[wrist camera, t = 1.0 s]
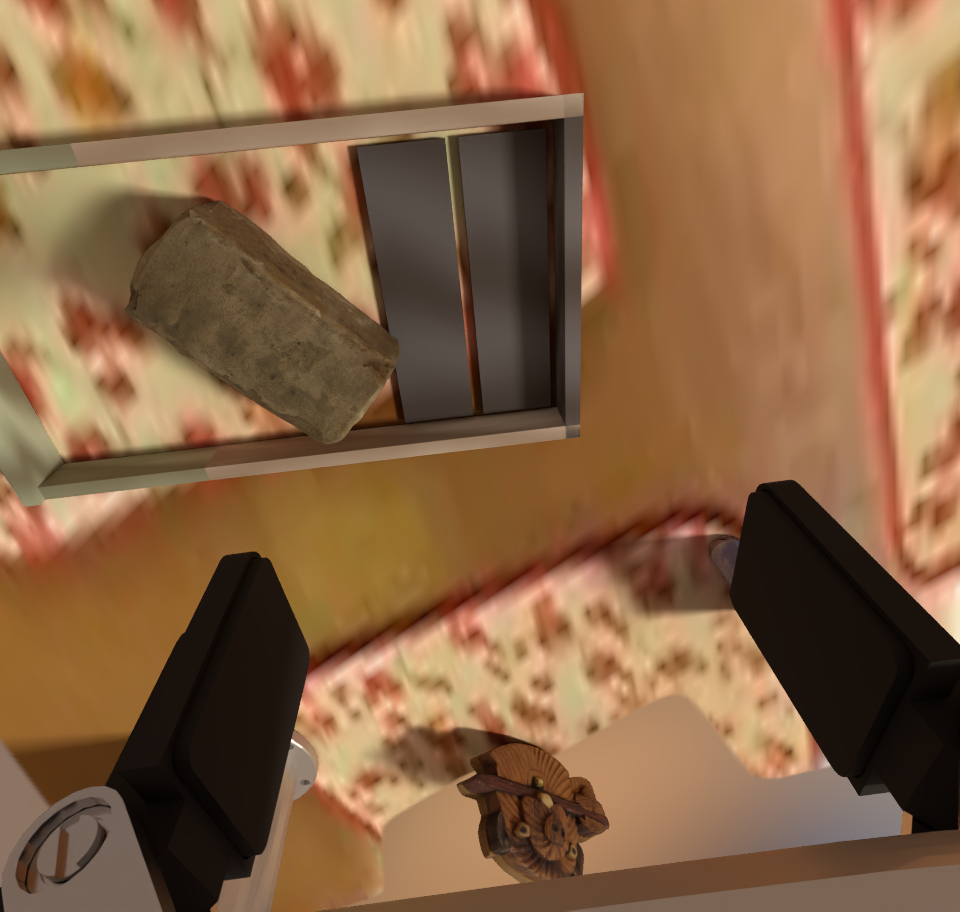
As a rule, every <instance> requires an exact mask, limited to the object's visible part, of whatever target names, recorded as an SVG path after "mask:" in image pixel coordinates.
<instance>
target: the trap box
mask: <svg viewBox="0 0 960 912" xmlns="http://www.w3.org/2000/svg"><path fill="white" fill-rule="evenodd" d="M545 120H552V130H553V202H554V273H555V345H556V407H552V408H543V409H535V410H526V411H517V412H509V413H500V414H491V415H483V416H474V417H465V418H457V419H448V420H439V421H430V422H422V423H413V424H404V425H396V426H387V427H378V428H370V429H361V430H352V431H349V433H348V434H347V435H346V436H345V437H344V438H343V439H342V440H340V441H339V442H337V443H334V444H322V443H319V442H317V441H316V440H314V439H312V438H311V437H310V436H300V437H292V438H283V439H274V440H266V441H257V442H248V443H240V444H231V445H222V446H214V447H205V448H196V449H188V450H179V451H170V452H161V453H153V454H144V455H135V456H127V457H118V458H109V459H101V460H92V461H83V462H75V463H66V464H64V462H63V460H62V458H61V457H60V455H59V453H58V451H57V450H56V448H55V446H54V444H53V443H52V441H51V439H50V437H49V436H48V434H47V432H46V430H45V429H44V427H43V425H42V423H41V422H40V420H39V418H38V416H37V415H36V413H35V411H34V409H33V408H32V406H31V404H30V402H29V401H28V399H27V397H26V395H25V394H24V392H23V390H22V388H21V387H20V385H19V383H18V381H17V380H16V378H15V376H14V374H13V373H12V371H11V369H10V367H9V366H8V364H7V362H6V360H5V359H4V357H3V355H2V353H1V352H0V470H1V471H2V473H3V474H4V476H5V477H6V479H7V481H8V482H9V484H10V485H11V487H12V488H13V490H14V491H15V493H16V494H17V496H18V498H19V499H20V501H21V502H22V504H23V505H24V507H25V506H34V505H40V504H41V503H42V502H43V501H44V500H45V499H54V498H62V497H71V496H79V495H88V494H96V493H105V492H114V491H122V490H131V489H139V488H148V487H156V486H165V485H173V484H182V483H190V482H199V481H208V480H216V479H225V478H233V477H242V476H250V475H259V474H267V473H276V472H285V471H293V470H302V469H310V468H319V467H327V466H336V465H344V464H353V463H361V462H370V461H379V460H387V459H396V458H404V457H413V456H421V455H430V454H438V453H447V452H455V451H464V450H473V449H481V448H490V447H498V446H507V445H515V444H524V443H532V442H541V441H549V440H558V439H567V438H575V437H580V359H581V269H582V179H583V93H577V94H567V95H557V96H547V97H536V98H526V99H516V100H506V101H496V102H486V103H476V104H465V105H455V106H445V107H435V108H425V109H415V110H405V111H394V112H384V113H374V114H364V115H354V116H344V117H334V118H323V119H313V120H303V121H293V122H283V123H273V124H263V125H252V126H242V127H232V128H222V129H212V130H202V131H192V132H181V133H171V134H161V135H151V136H141V137H131V138H121V139H110V140H100V141H90V142H80V143H70V144H60V145H50V146H39V147H29V148H19V149H9V150H0V175H5V174H15V173H25V172H35V171H45V170H55V169H65V168H75V167H85V166H95V165H105V164H115V163H125V162H135V161H145V160H155V159H165V158H175V157H185V156H195V155H205V154H215V153H225V152H235V151H245V150H255V149H265V148H275V147H285V146H295V145H305V144H315V143H325V142H335V141H345V140H355V139H365V138H375V137H385V136H395V135H405V134H415V133H425V132H435V131H445V130H455V129H465V128H475V127H485V126H495V125H505V124H515V123H525V122H535V121H545ZM458 146H459V157H460V168H461V179H462V189H463V200H464V211H465V222H466V233H467V244H468V254H469V265H470V276H471V287H472V298H473V308H474V319H475V330H476V341H477V352H478V363H479V373H480V384H481V395H482V406H483V414H486V413H495V412H504V411H513V410H521V409H530V408H539V407H547V406H551V381H550V330H549V279H548V229H547V178H546V128H542V129H532V130H522V131H512V132H502V133H492V134H482V135H472V136H462V137H458ZM357 153H358V158H359V164H360V170H361V175H362V181H363V187H364V192H365V198H366V203H367V209H368V215H369V220H370V226H371V232H372V237H373V243H374V249H375V254H376V260H377V265H378V271H379V277H380V282H381V288H382V294H383V299H384V305H385V311H386V316H387V322H388V327H389V333H390V334H391V335H392V336H393V337H395V338H396V339H397V340H398V343H399V347H400V351H401V354H400V356H399V359H398V361H397V364H396V366H395V367H396V373H397V378H398V384H399V390H400V395H401V401H402V406H403V412H404V418H405V423H408V422H417V421H426V420H434V419H443V418H452V417H460V416H469V415H473V406H472V397H471V387H470V377H469V367H468V358H467V348H466V338H465V329H464V319H463V309H462V299H461V290H460V280H459V270H458V261H457V251H456V241H455V231H454V222H453V212H452V202H451V193H450V183H449V173H448V164H447V154H446V144H445V138H442V139H432V140H422V141H412V142H402V143H392V144H382V145H372V146H362V147H357Z"/></svg>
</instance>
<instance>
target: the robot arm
mask: <svg viewBox="0 0 960 912" xmlns="http://www.w3.org/2000/svg"><path fill="white" fill-rule="evenodd" d="M730 597H731V601H732V604H733V606H734V608H735V610H736V612H737V613H738V615H739V617H740V618H741V620H742V622H743V623H744V625H745V626H746V628H747V630H748V631H749V633H750V635H751V636H752V638H753V640H754V641H755V643H756V644H757V646H758V648H759V649H760V651H761V653H762V654H763V656H764V657H765V659H766V661H767V662H768V664H769V666H770V667H771V669H772V670H773V672H774V674H775V675H776V677H777V679H778V680H779V682H780V684H781V685H782V687H783V688H784V690H785V692H786V693H787V695H788V697H789V698H790V700H791V701H792V703H793V705H794V706H795V708H796V710H797V711H798V713H799V714H800V716H801V718H802V719H803V721H804V723H805V724H806V726H807V728H808V729H809V731H810V732H811V734H812V736H813V737H814V739H815V741H816V742H817V744H818V745H819V747H820V749H821V750H822V752H823V754H824V755H825V757H826V758H827V760H828V762H829V763H830V765H831V766H832V768H833V769H834V771H835V772H836V773H837V774H838V775H840V776H842V777H847V778H848V779H849V781H850V782H851V784H852V785H853V787H854V789H855V790H856V792H857V794H858V795H859V796H863V795H871V794H878V793H886V792H890V793H891V794H892V795H893V797H894V798H895V800H896V801H897V803H898V804H899V806H900V807H901V808H902V810H903V814H902V826H901V835H898V836H889V837H879V838H870V839H861V840H852V841H842V842H834V843H827V844H818V845H811V846H802V847H795V848H787V849H779V850H771V851H764V852H756V853H748V854H740V855H732V856H724V857H717V858H710V859H701V860H693V861H685V862H677V863H671V864H662V865H655V866H647V867H640V868H632V869H624V870H617V871H609V872H603V873H595V874H587V875H579V876H572V877H564V878H557V879H549V880H542V881H534V882H527V883H520V884H513V885H504V886H497V887H490V888H483V889H475V890H468V891H461V892H453V893H447V894H439V895H432V896H424V897H418V898H410V899H403V900H395V901H388V902H381V903H374V904H366V905H359V906H353V907H345V908H338V909H330V910H323V911H317V912H960V644H959V643H958V642H957V641H956V640H955V639H954V638H953V637H952V636H951V635H950V634H949V633H948V632H947V631H946V630H945V629H944V628H943V627H942V626H941V625H940V624H939V623H938V622H937V621H936V620H935V619H934V618H933V617H932V616H931V615H930V614H929V613H928V612H927V611H926V610H925V609H924V608H923V607H922V606H921V605H920V604H919V603H918V602H917V601H916V600H915V599H914V598H913V597H912V596H911V595H910V594H909V593H908V592H907V591H906V590H905V589H904V588H903V587H902V586H901V585H900V584H899V583H898V582H897V581H896V580H895V579H894V578H893V577H892V576H891V575H890V574H889V573H888V572H887V571H886V570H885V569H884V568H883V567H882V566H881V565H880V564H879V563H878V562H877V561H876V560H875V559H874V558H873V557H872V556H871V555H870V554H869V553H868V552H867V551H866V550H865V549H864V548H863V547H862V546H861V545H860V544H859V543H858V542H857V541H856V540H855V539H854V538H853V537H852V536H851V535H850V534H849V533H848V532H847V531H846V530H845V529H844V528H843V527H842V526H841V525H840V524H839V523H838V522H837V521H836V520H835V519H834V518H833V517H832V516H831V515H830V514H829V513H828V512H827V511H826V510H824V509H823V508H822V507H821V506H820V505H819V504H818V503H817V502H816V501H815V500H814V499H813V498H812V497H811V496H810V495H809V494H808V493H807V492H806V491H805V490H804V489H803V488H802V487H801V486H800V485H799V484H798V483H797V482H796V481H794V480H785V481H778V482H770V483H763V484H760V485H759V486H758V487H757V489H756V492H753V493H751V494H750V495H749V497H748V501H747V506H746V511H745V516H744V522H743V527H742V532H741V537H740V542H739V547H738V552H737V557H736V562H735V568H734V573H733V578H732V583H731V588H730ZM308 667H309V648H308V645H307V643H306V641H305V638H304V636H303V634H302V632H301V629H300V627H299V625H298V623H297V620H296V618H295V616H294V613H293V611H292V609H291V607H290V604H289V602H288V600H287V598H286V595H285V593H284V591H283V588H282V586H281V584H280V582H279V579H278V577H277V575H276V572H275V570H274V568H273V566H272V563H271V561H270V560H269V559H268V558H261V556H260V554H259V553H257V552H246V553H239V554H231V555H226V556H224V557H223V558H222V559H221V560H220V562H219V564H218V566H217V568H216V570H215V572H214V574H213V577H212V579H211V581H210V583H209V585H208V587H207V589H206V591H205V593H204V595H203V597H202V599H201V601H200V603H199V605H198V607H197V609H196V611H195V613H194V615H193V617H192V619H191V621H190V623H189V625H188V628H187V630H186V632H185V633H183V634H182V635H181V636H180V638H179V639H178V641H177V642H176V644H175V646H174V648H173V650H172V652H171V654H170V656H169V658H168V660H167V662H166V664H165V666H164V668H163V670H162V672H161V675H160V677H159V679H158V681H157V683H156V685H155V687H154V689H153V691H152V693H151V695H150V697H149V699H148V701H147V703H146V705H145V707H144V709H143V711H142V713H141V715H140V717H139V719H138V721H137V723H136V725H135V727H134V729H133V731H132V733H131V735H130V737H129V739H128V741H127V743H126V745H125V747H124V749H123V751H122V753H121V755H120V757H119V759H118V761H117V763H116V765H115V767H114V769H113V771H112V773H111V775H110V777H109V779H108V781H107V783H106V785H105V786H95V787H88V788H85V789H82V790H80V791H77V792H74V793H72V794H70V795H69V796H67V797H65V798H63V799H62V800H60V801H58V802H56V803H55V804H54V805H53V806H51V807H50V808H49V809H48V810H47V811H45V812H44V813H43V814H42V815H41V816H39V817H38V818H37V819H36V820H35V821H34V823H33V824H32V825H31V826H30V827H29V828H28V829H27V830H26V831H25V832H24V834H23V835H22V836H21V838H20V839H19V841H18V842H17V844H16V846H15V847H14V849H13V850H12V852H11V853H10V856H9V858H8V861H7V863H6V866H5V868H4V871H3V876H2V887H1V888H0V912H270V911H271V906H272V901H273V896H274V891H275V887H276V882H277V877H278V872H279V867H280V862H281V857H282V852H283V847H284V843H285V838H286V833H287V828H288V823H289V818H290V813H291V808H292V803H293V801H294V800H296V799H298V798H299V797H301V796H302V795H303V794H305V793H306V792H307V791H308V790H309V789H310V788H311V786H312V785H313V784H314V781H315V779H316V776H317V770H318V765H319V764H318V756H317V753H316V751H315V749H314V747H313V746H312V745H311V744H310V742H309V741H308V740H307V739H305V738H304V737H303V736H302V735H300V734H299V733H297V732H296V731H294V727H295V723H296V718H297V714H298V710H299V705H300V701H301V697H302V693H303V688H304V684H305V680H306V675H307V671H308Z"/></svg>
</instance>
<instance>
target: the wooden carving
mask: <svg viewBox="0 0 960 912" xmlns="http://www.w3.org/2000/svg"><path fill="white" fill-rule="evenodd" d="M470 764H471V766H472V767H473V769H474V770H475V771H476V773H477V774H476V775H474V776H473V777H471V778H469V779H467V780H465V781H462V782H460V783H458V784H457V787H458V789H459V791H460V792H461V794H462V795H463V796H465V797H469V798H472V799H475V800H477V803H478V807H479V811H480V814H481V821H480V824H479V830H478V835H479V842H480V846H481V850H482V852H483V855H484V857H485V858H487V859H488V858H492V859H494V861H495V862H496V863H497V864H498V865H499V866H500V867H501V868H502V869H503V870H504V871H505V872H506V873H508V874H509V875H511V876H513V877H514V878H515V879H516V880H517V881H519V882H520V883H527V882H534V881H542V880H549V879H557V878H564V877H572V876H579V875H583V862H584V855H583V851H582V848H581V846H580V845H579V844H578V843H582V842H585V841H587V840H588V839H590V838H592V837H594V836H596V835H598V834H601V833H603V832H604V831H605V830H606V829H608V828H609V822H608V819H607V817H606V816H605V813H604V810H603V808H602V805H601V804H600V803H599V802H598V801H597V800H596V798H595V794H594V792H593V788H592V786H591V784H590V782H589V781H588V780H587V779H585V778H582V777H572V778H569V773H568V771H567V770H566V769H565V768H564V766H563V765H562V764H561V763H560V762H559V761H558V760H557V759H555V758H554V757H552V756H551V755H550V754H548V753H547V752H545V751H544V750H541V749H539V748H537V747H534V746H531V745H526V744H520V743H510V744H506V745H502V746H499V747H497V748H494V749H492V750H490V751H488V752H486V753H484V754H481V755H479V756H477V757H474V758H472V759H471V760H470Z"/></svg>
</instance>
